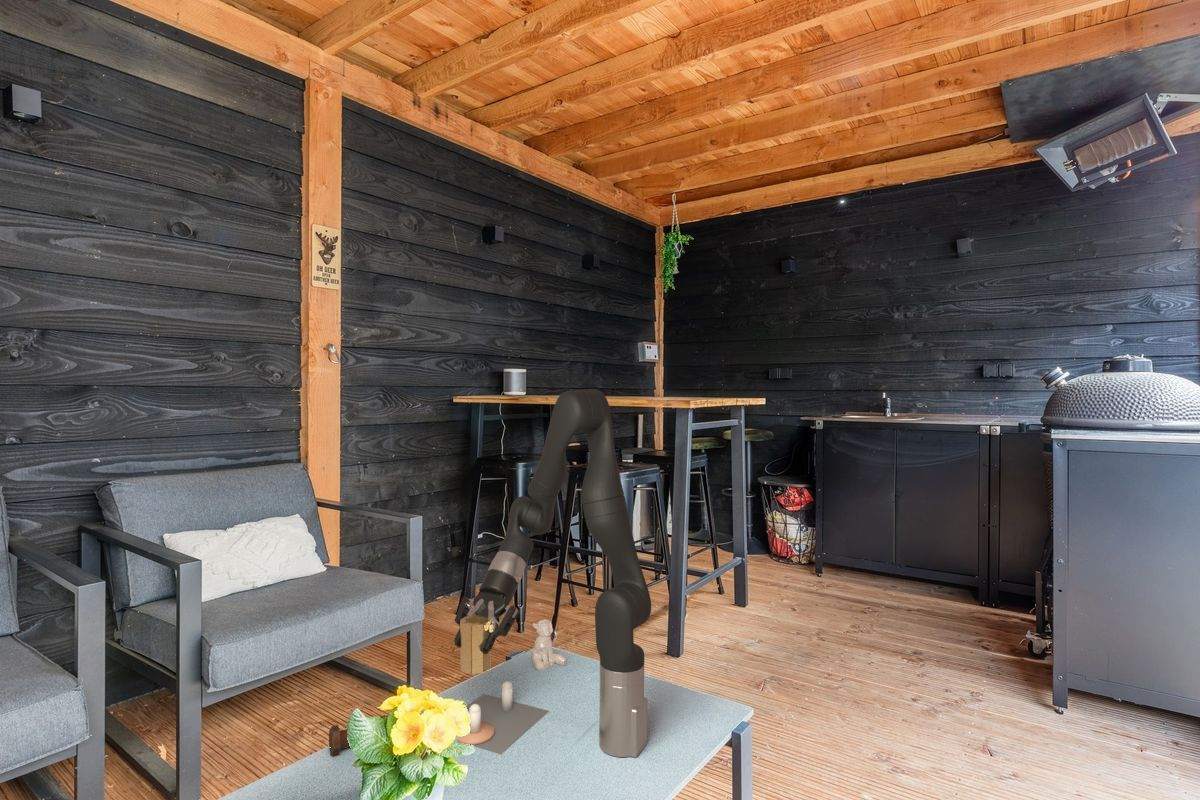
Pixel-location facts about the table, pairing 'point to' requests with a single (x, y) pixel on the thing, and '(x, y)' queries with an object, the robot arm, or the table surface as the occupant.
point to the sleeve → (474, 644)
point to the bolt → (337, 740)
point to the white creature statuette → (545, 648)
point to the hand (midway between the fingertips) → (470, 649)
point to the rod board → (499, 721)
